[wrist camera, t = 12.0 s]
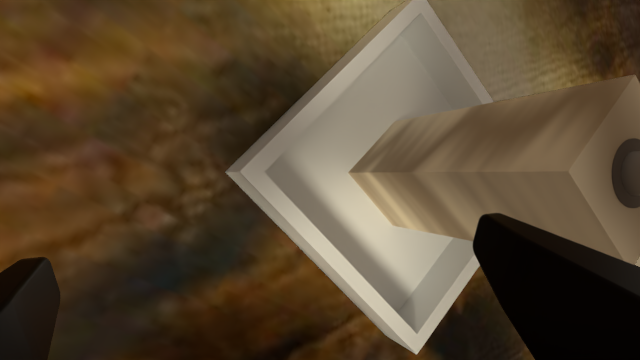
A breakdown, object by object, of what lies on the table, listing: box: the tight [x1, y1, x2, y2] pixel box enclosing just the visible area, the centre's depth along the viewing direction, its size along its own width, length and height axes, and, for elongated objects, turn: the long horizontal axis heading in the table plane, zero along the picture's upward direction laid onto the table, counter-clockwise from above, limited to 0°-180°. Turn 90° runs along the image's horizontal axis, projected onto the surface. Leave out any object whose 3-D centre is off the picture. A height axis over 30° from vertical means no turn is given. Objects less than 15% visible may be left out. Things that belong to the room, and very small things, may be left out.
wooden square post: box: [348, 75, 640, 265], centre depth 18 cm, size 4×4×16 cm
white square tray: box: [225, 0, 494, 355], centre depth 24 cm, size 14×14×3 cm
